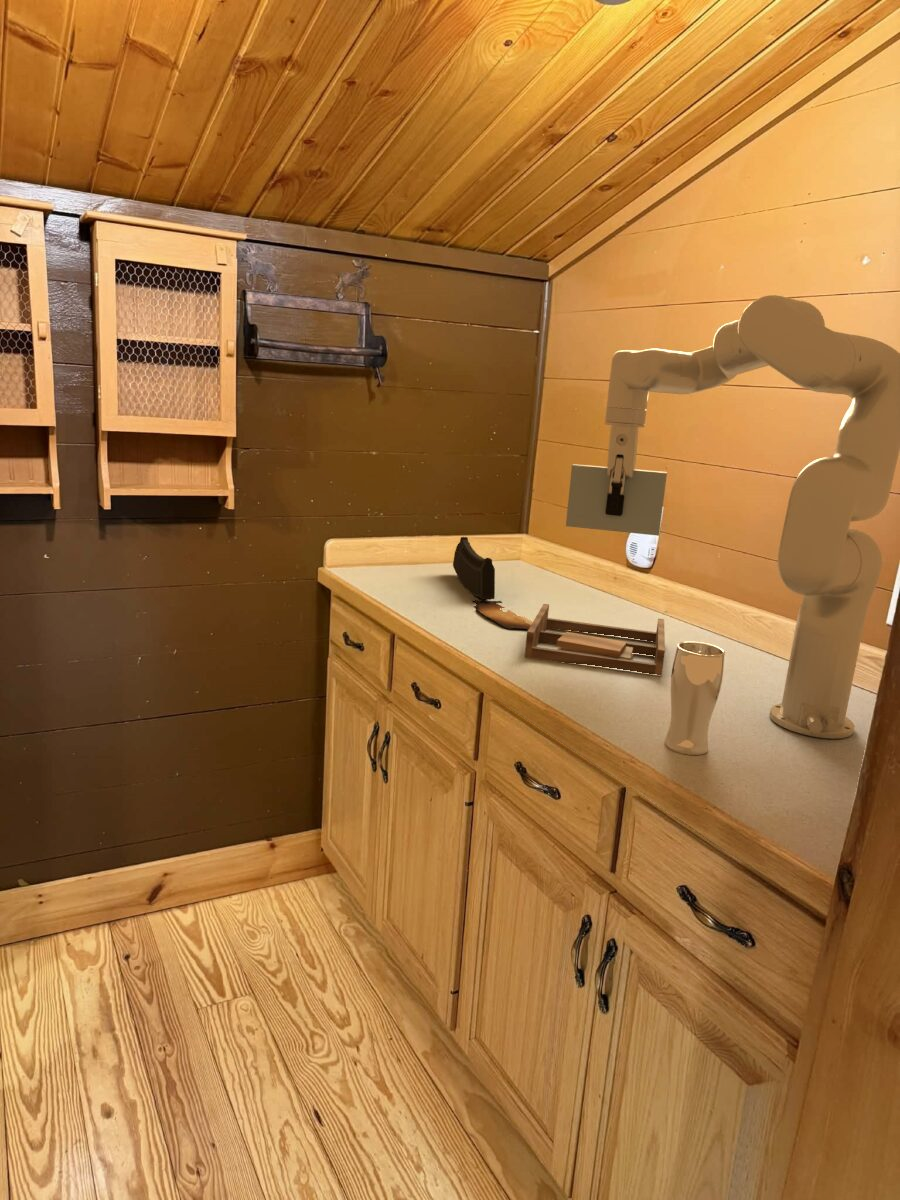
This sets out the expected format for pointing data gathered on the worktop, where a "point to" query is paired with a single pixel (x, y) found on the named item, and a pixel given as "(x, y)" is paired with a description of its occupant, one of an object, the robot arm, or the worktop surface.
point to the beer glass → (694, 695)
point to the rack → (543, 622)
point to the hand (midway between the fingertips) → (614, 513)
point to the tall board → (637, 509)
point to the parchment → (501, 615)
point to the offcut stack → (594, 646)
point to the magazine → (474, 571)
